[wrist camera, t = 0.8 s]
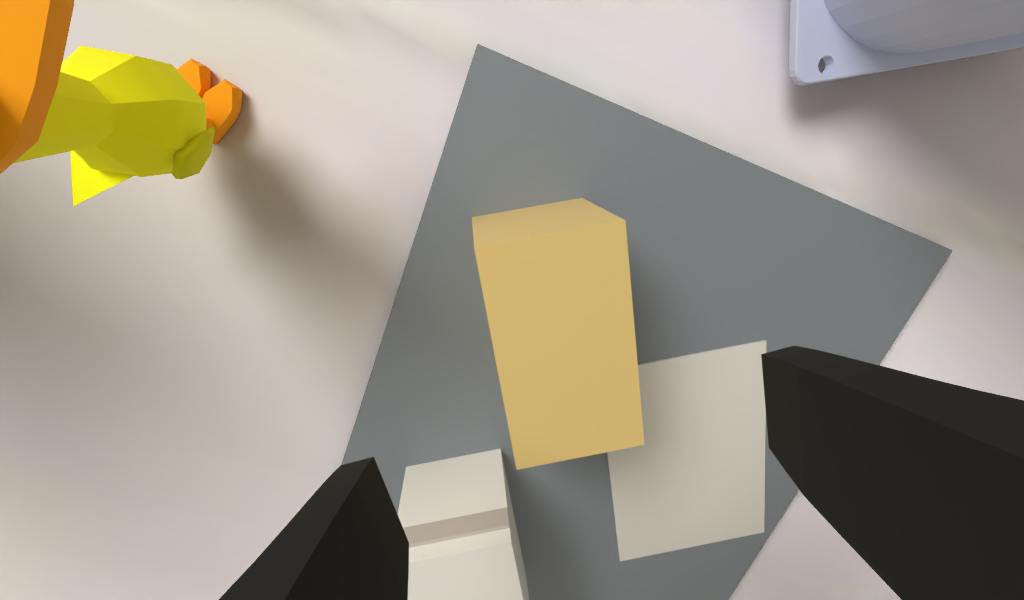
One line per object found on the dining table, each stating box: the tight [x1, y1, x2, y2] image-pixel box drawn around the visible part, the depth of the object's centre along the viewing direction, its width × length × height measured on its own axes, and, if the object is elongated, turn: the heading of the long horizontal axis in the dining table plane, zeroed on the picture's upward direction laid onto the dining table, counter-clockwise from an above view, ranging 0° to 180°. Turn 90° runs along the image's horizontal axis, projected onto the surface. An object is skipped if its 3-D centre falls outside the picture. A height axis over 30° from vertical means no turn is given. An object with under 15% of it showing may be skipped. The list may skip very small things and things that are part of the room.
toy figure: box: [0, 0, 243, 206], centre depth 10 cm, size 7×4×12 cm, turn 148°
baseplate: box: [342, 44, 952, 600], centre depth 21 cm, size 24×20×1 cm
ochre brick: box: [472, 198, 645, 470], centre depth 16 cm, size 4×7×5 cm, turn 9°
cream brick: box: [397, 449, 529, 600], centre depth 19 cm, size 4×7×5 cm, turn 9°
